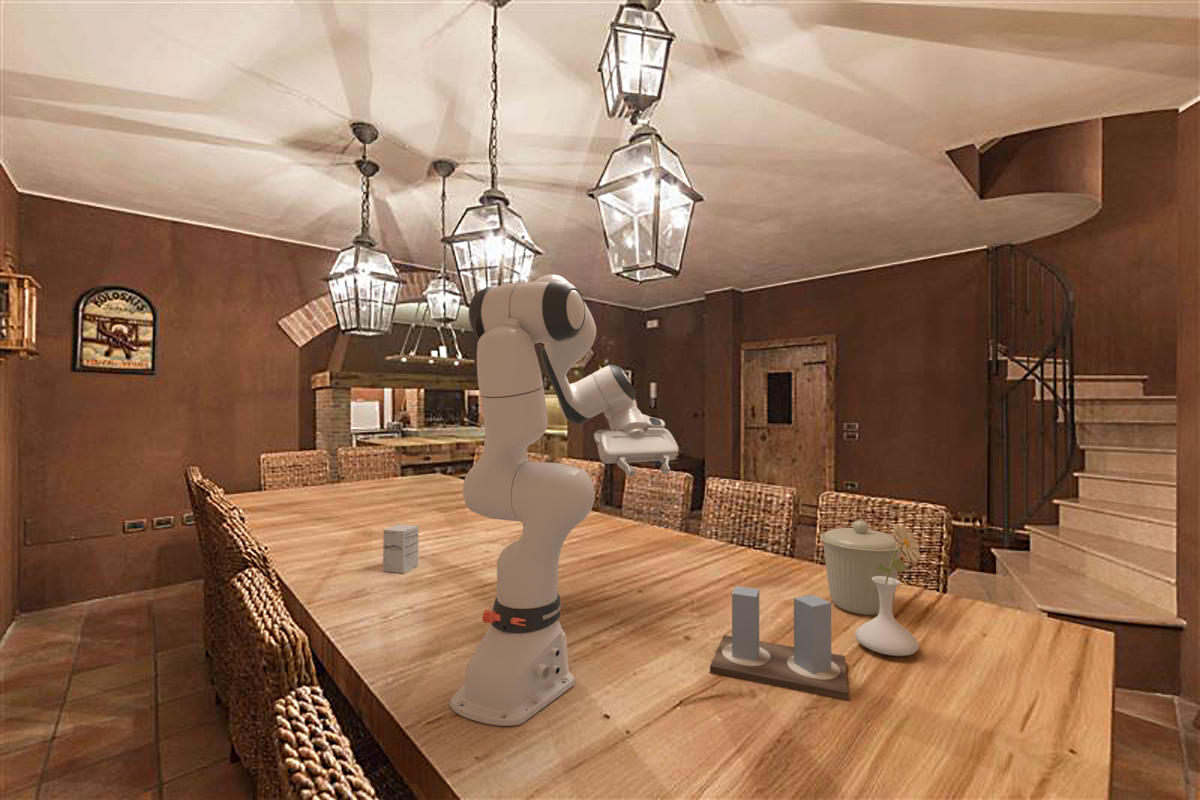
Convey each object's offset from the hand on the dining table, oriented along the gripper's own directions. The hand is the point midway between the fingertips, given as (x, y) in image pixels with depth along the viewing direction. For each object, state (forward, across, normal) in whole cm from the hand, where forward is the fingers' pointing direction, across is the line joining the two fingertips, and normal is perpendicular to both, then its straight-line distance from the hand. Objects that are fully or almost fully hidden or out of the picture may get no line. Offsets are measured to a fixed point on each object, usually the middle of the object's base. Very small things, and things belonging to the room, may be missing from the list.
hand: (649, 473), depth 122 cm
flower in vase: (+47, +37, 0) cm, 60 cm away
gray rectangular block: (+47, +15, -2) cm, 49 cm away
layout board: (+45, +11, +2) cm, 46 cm away
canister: (+35, +50, +12) cm, 62 cm away
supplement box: (-20, -51, +67) cm, 86 cm away
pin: (+41, +7, +4) cm, 42 cm away
